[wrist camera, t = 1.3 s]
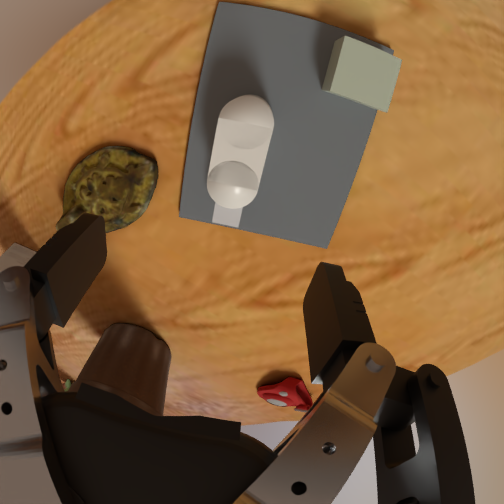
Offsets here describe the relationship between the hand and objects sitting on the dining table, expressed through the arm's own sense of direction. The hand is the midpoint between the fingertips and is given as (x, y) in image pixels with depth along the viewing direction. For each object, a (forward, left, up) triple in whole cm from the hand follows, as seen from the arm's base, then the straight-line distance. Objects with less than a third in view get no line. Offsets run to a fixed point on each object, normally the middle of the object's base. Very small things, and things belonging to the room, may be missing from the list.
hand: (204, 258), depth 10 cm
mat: (-3, +3, -18) cm, 19 cm away
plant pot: (+34, -11, -19) cm, 41 cm away
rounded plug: (+1, 0, -18) cm, 18 cm away
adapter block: (-10, +8, -18) cm, 22 cm away
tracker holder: (+40, +16, -19) cm, 47 cm away
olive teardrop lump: (+7, -14, -19) cm, 25 cm away
